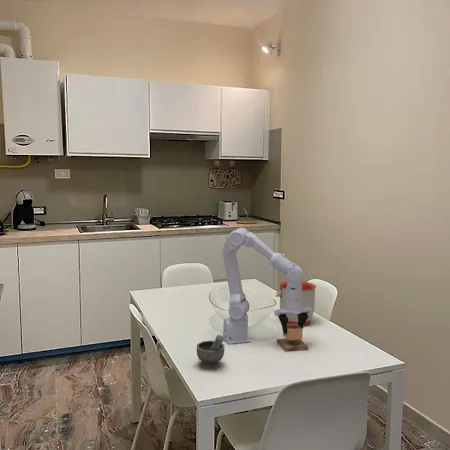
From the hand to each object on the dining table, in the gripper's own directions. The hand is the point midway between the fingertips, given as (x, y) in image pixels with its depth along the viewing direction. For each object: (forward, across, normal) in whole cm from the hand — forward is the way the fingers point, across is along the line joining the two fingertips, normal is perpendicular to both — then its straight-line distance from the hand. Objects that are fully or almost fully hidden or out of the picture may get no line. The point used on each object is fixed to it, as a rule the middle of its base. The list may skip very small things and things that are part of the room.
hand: (292, 332), depth 175 cm
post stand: (+5, 0, 0) cm, 5 cm away
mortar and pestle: (+6, -34, -10) cm, 36 cm away
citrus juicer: (+6, +12, +25) cm, 28 cm away
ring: (+2, 0, 0) cm, 2 cm away
